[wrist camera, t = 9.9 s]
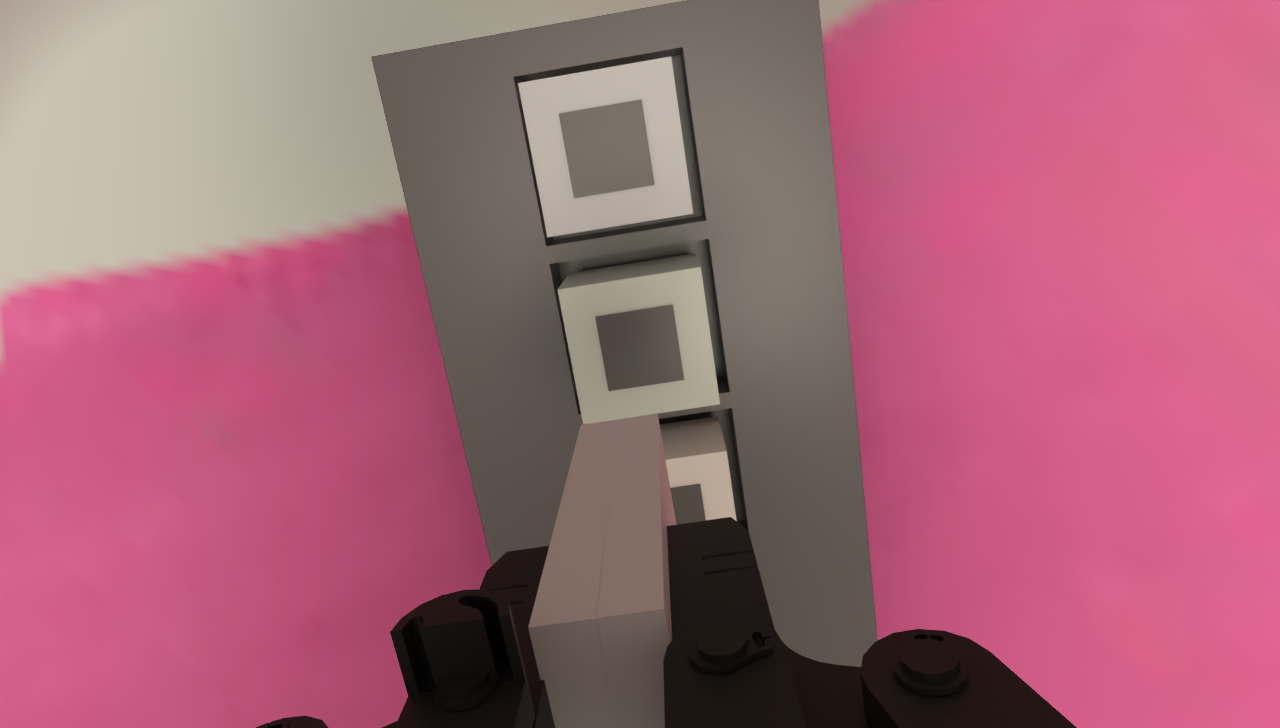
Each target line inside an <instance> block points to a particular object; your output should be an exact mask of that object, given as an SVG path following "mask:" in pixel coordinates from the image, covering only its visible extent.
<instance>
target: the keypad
mask: <svg viewBox="0 0 1280 728" xmlns="http://www.w3.org/2000/svg"><path fill="white" fill-rule="evenodd" d="M665 57H671V59H672V66H673V73H674V80H675V87H676V94H677V101H678V109H679V116H680V123H681V130H682V137H683V144H684V151H685V158H686V165H687V172H688V180H689V187H690V194H691V201H692V208H693V214H688V215H682V216H676V217H670V218H664V219H657V220H651V221H645V222H639V223H633V224H627V225H620V226H614V227H608V228H602V229H596V230H590V231H584V232H577V233H571V234H565V235H559V236H553V237H547V233H546V227H545V222H544V217H543V212H542V206H541V201H540V196H539V191H538V186H537V180H536V175H535V170H534V165H533V159H532V154H531V149H530V144H529V139H528V133H527V128H526V123H525V118H524V112H523V107H522V102H521V97H520V91H519V86H518V83H522V82H527V81H533V80H539V79H545V78H550V77H556V76H562V75H567V74H573V73H579V72H585V71H590V70H596V69H602V68H608V67H613V66H619V65H625V64H631V63H636V62H642V61H648V60H653V59H659V58H665ZM372 61H373V65H374V70H375V74H376V78H377V83H378V87H379V91H380V95H381V99H382V104H383V108H384V112H385V116H386V121H387V125H388V129H389V133H390V138H391V142H392V146H393V150H394V154H395V159H396V162H397V167H398V171H399V175H400V180H401V184H402V188H403V192H404V197H405V201H406V205H407V209H408V214H409V218H410V222H411V226H412V231H413V235H414V239H415V243H416V247H417V252H418V256H419V260H420V264H421V269H422V273H423V277H424V281H425V285H426V290H427V294H428V298H429V302H430V307H431V311H432V315H433V319H434V323H435V328H436V332H437V336H438V340H439V345H440V349H441V353H442V357H443V362H444V366H445V370H446V374H447V378H448V383H449V387H450V391H451V395H452V400H453V404H454V408H455V412H456V416H457V421H458V425H459V429H460V433H461V438H462V442H463V446H464V450H465V454H466V459H467V463H468V467H469V471H470V476H471V480H472V484H473V488H474V493H475V497H476V501H477V505H478V509H479V514H480V518H481V522H482V526H483V531H484V535H485V539H486V543H487V547H488V552H489V556H490V560H491V564H492V565H493V564H495V563H496V562H497V561H498V560H499V559H500V558H501V557H502V556H503V555H504V554H505V553H506V552H508V551H515V550H522V549H529V548H536V547H543V546H549V545H550V542H551V538H552V534H553V530H554V526H555V522H556V518H557V514H558V511H559V507H560V503H561V499H562V495H563V491H564V487H565V484H566V480H567V476H568V472H569V468H570V464H571V460H572V456H573V453H574V449H575V445H576V441H577V437H578V433H579V429H580V426H581V425H584V424H583V421H582V415H581V410H580V405H579V400H578V394H577V389H576V384H575V379H574V374H573V368H572V363H571V358H570V353H569V347H568V342H567V337H566V332H565V327H564V321H563V316H562V311H561V306H560V300H559V295H558V288H559V287H560V285H561V284H562V283H563V281H564V280H565V278H566V277H567V275H568V274H569V273H572V272H579V271H585V270H591V269H598V268H604V267H610V266H616V265H623V264H629V263H635V262H642V261H648V260H654V259H660V258H667V257H673V256H679V255H686V254H692V253H695V255H696V257H697V259H698V262H699V264H700V266H701V272H702V279H703V286H704V293H705V300H706V307H707V314H708V322H709V329H710V336H711V343H712V350H713V357H714V364H715V371H716V378H717V385H718V393H719V400H720V404H719V405H712V406H705V407H699V408H692V409H685V410H678V411H671V412H665V413H658V418H659V424H660V425H661V424H668V423H674V422H681V421H688V420H695V419H702V418H709V417H715V416H718V418H719V422H720V426H721V430H722V434H723V438H724V442H725V446H726V450H727V457H728V464H729V471H730V478H731V485H732V492H733V499H734V506H735V513H736V520H737V522H738V523H739V524H740V525H742V526H743V527H744V528H746V529H747V530H748V531H749V535H750V538H751V542H752V546H753V550H754V553H755V557H756V561H757V565H758V569H759V572H760V576H761V580H762V584H763V587H764V591H765V595H766V599H767V602H768V606H769V610H770V614H771V617H772V621H773V625H774V628H775V631H776V632H777V634H778V635H779V637H780V639H781V640H782V642H783V643H784V644H785V645H786V646H787V647H788V648H790V649H791V650H793V651H795V652H796V653H798V654H800V655H801V656H804V657H807V658H810V659H813V660H815V661H818V662H824V663H830V664H835V665H845V666H856V667H861V665H862V658H863V655H864V654H865V653H866V652H867V650H868V649H869V648H870V647H871V646H872V645H873V644H874V642H876V641H878V640H877V629H876V618H875V607H874V597H873V586H872V575H871V564H870V553H869V542H868V531H867V521H866V510H865V499H864V488H863V477H862V466H861V455H860V445H859V434H858V423H857V412H856V401H855V390H854V379H853V369H852V358H851V347H850V336H849V325H848V314H847V303H846V293H845V282H844V271H843V260H842V249H841V238H840V227H839V216H838V206H837V195H836V184H835V173H834V162H833V151H832V140H831V130H830V119H829V108H828V97H827V86H826V75H825V64H824V54H823V43H822V32H821V21H820V11H819V0H687V1H682V2H676V3H670V4H664V5H659V6H653V7H647V8H642V9H636V10H631V11H625V12H619V13H614V14H608V15H603V16H597V17H592V18H586V19H580V20H575V21H569V22H563V23H558V24H552V25H547V26H541V27H535V28H530V29H524V30H519V31H513V32H508V33H502V34H496V35H491V36H485V37H479V38H474V39H468V40H463V41H457V42H451V43H446V44H440V45H434V46H429V47H423V48H418V49H412V50H406V51H401V52H395V53H390V54H384V55H378V56H373V57H372ZM590 424H591V423H590Z"/></svg>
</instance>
